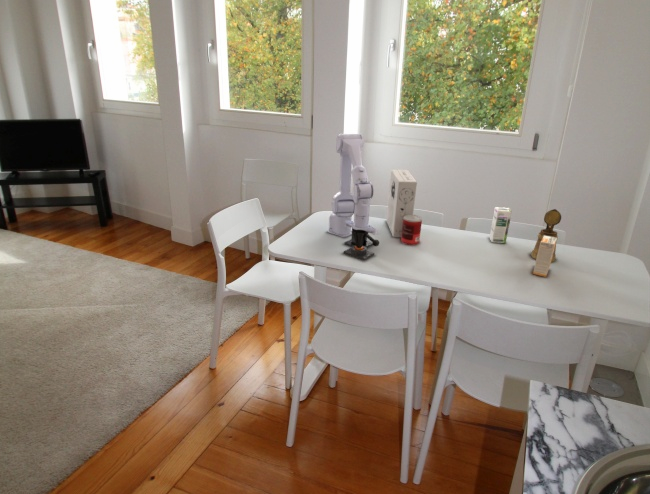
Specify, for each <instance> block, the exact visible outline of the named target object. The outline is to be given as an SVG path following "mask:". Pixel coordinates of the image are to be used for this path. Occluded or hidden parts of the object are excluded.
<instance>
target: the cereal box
mask: <svg viewBox="0 0 650 494" xmlns="http://www.w3.org/2000/svg"><path fill="white" fill-rule="evenodd" d="M417 184H418V182H417V180H416V179H415V178H414V176H413V175H412V174H411V172H410V171H409V170H408V169H394V168H393V169H391V170H390V180H389V188H388V189H389V190H388V200H387V208H386V209H387V211H386V220H385V221H386V223H387V225H388V228H389V231H390V233H391V235H392V237H393V238H401V236H402V227H403V218H404V216H405V215H414V210H415V201H416V192H417Z"/></svg>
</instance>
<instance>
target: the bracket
mask: <svg viewBox="0 0 650 494" xmlns="http://www.w3.org/2000/svg"><path fill="white" fill-rule="evenodd" d="M352 230H353V228H352V227H351V231H352ZM344 245H345V246H348V247H350V248H351V247H352V246H354V245H356V242H355V238H354V236H353V234H351V239H349V240H347V241H345V242H344ZM363 246H365V247H367V249H368V248H370V247H372V246H373V244H372V242H371V241H368V238H367V237H366V238H365V240H364V242H363Z"/></svg>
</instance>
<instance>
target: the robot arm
mask: <svg viewBox="0 0 650 494" xmlns="http://www.w3.org/2000/svg"><path fill="white" fill-rule="evenodd" d="M364 142H365V140H364V135H363V133H339V134H338V135H337V137H336V153H338V154H339V157H340V160H339V161H340V162H339V189H338V190H339V191H338V192H336V194H334V195H333V196H332V201H331V214H330V215H329V219H328V222H329V223H328V231H327V233H329V234H332V235H335V236H338V237H341V238H347V237H349V236H352V234H353V236H354V238H355V242H356V247H357V248H361V247H362V245H363V242H364V240H365V238H366V236H367V234H371V235H373V236H376V235H378V233H379V228H375V227H374V226H372V225H370V224H369V222H370V221H369V220H370V208H371V199H373V197H374V185H373V183H372V182H371V180H369V176H368V171H367V168H366V167H365V166H363V160H362V153H361V152H362V151H363V147H364V144H365V143H364ZM352 182H353V189H352ZM351 190H353V191H352V192H353V193H352V192H351ZM352 216H353V217H352ZM352 219H353V220H352ZM352 228H353V230H352Z"/></svg>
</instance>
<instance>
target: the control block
mask: <svg viewBox="0 0 650 494" xmlns="http://www.w3.org/2000/svg"><path fill="white" fill-rule="evenodd" d="M355 246H356V245H354V246H352V247H351V246H350V247H349V248H347V249H345V250H343V255H347V256H349V257H353V258H355V259H358V260H361V261H367V260H368V259H370V258H372V257H373V256H375V252H372V251H370V250H368V248H367V247H365V246H363V245H362V246H363V250H357V249H355Z"/></svg>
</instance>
